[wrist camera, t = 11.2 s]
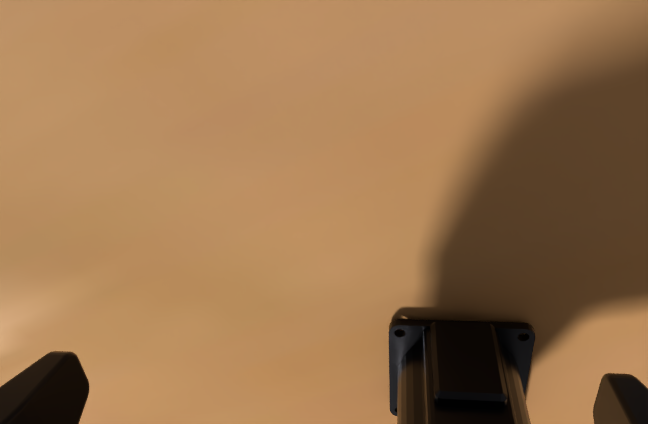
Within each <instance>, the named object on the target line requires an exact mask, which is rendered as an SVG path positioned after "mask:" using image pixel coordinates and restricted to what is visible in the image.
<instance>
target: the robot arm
mask: <svg viewBox="0 0 648 424" xmlns="http://www.w3.org/2000/svg"><path fill="white" fill-rule="evenodd" d="M397 329H402V330H403V331H397ZM521 333H526V334H524V335H519V334H521ZM534 341H535V333H534V330H533V327H532V326H531V325H529V324H528V323H516V322H481V321H447V320H412V319H397V320H394V321H392V322H391V323H390V325H389V375H390V411H391V413H392V414H393V415H395V416H397V424H531V423H530V419H529V414H528V410H527V405H526V401H525V390H526V385H527V379H528V374H529V368H530V363H531V357H532V352H533V346H534ZM88 394H89V382H88V379H87V377H86V375H85V372H84V370H83V368H82V366H81V363H80V361H79V359H78V357H77V355H76V354H74V353H73V352H63V351H53V352H50V353H48V354H46V355H45V356H43V357H42V358H41V359H39V360H38V361H36V362H35V363H34V364H32V365H31V366H29V367H28V368H27V369H25V370H24V371H22V372H21V373H19V374H18V375H17V376H15V377H14V378H12V379H11V380H10V381H8V382H7V383H5V384H4V385H2V386H1V387H0V424H79V421H80V418H81V415H82V412H83V409H84V406H85V403H86V400H87V398H88ZM593 417H594V424H648V388H647V387H646V386H645V385H643V384H642V383H641V382H640V381H639V380H638V379H637V378H636V377H634V376H633V375H630V374H614V373H608V374H605V375H604V376H603V378H602V380H601V383H600V387H599V390H598V393H597V397H596V400H595V404H594V409H593Z"/></svg>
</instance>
